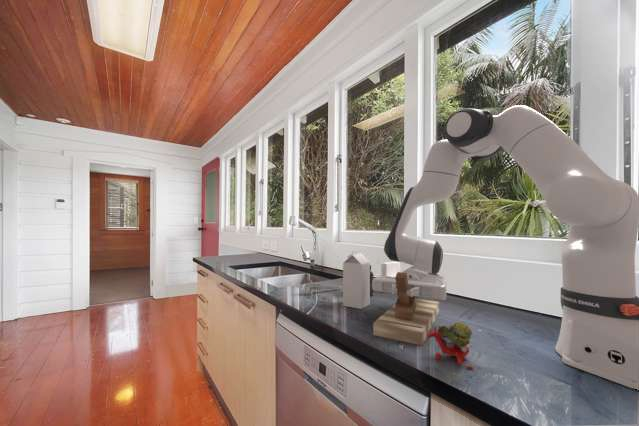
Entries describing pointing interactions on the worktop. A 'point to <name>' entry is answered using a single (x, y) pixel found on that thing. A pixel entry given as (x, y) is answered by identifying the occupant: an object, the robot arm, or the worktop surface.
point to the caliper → (319, 287)
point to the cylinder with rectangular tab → (390, 268)
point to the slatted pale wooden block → (408, 323)
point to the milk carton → (356, 281)
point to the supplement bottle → (371, 282)
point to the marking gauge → (404, 298)
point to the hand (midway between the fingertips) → (401, 292)
